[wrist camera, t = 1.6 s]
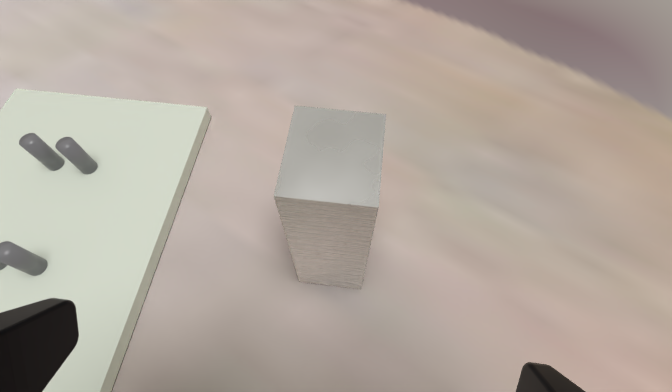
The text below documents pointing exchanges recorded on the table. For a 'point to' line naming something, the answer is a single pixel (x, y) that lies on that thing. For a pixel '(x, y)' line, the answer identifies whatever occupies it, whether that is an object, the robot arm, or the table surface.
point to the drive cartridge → (330, 192)
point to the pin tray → (90, 213)
